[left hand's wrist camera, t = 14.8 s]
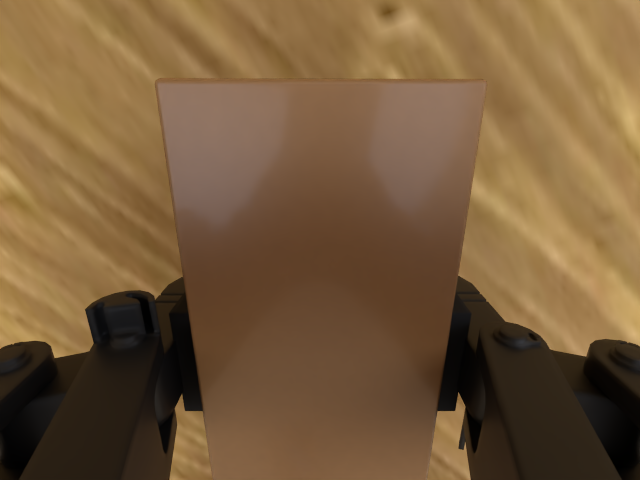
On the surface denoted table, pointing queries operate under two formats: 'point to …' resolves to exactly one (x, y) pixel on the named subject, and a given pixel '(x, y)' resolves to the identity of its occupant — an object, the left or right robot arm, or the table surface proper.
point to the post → (320, 264)
